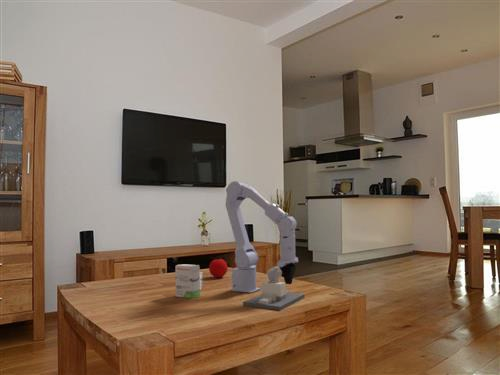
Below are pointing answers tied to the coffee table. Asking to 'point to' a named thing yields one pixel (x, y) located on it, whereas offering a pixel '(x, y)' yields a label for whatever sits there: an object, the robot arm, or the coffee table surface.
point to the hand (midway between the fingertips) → (288, 283)
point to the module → (274, 289)
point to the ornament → (218, 267)
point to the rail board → (273, 301)
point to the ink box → (187, 281)
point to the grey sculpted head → (274, 273)
